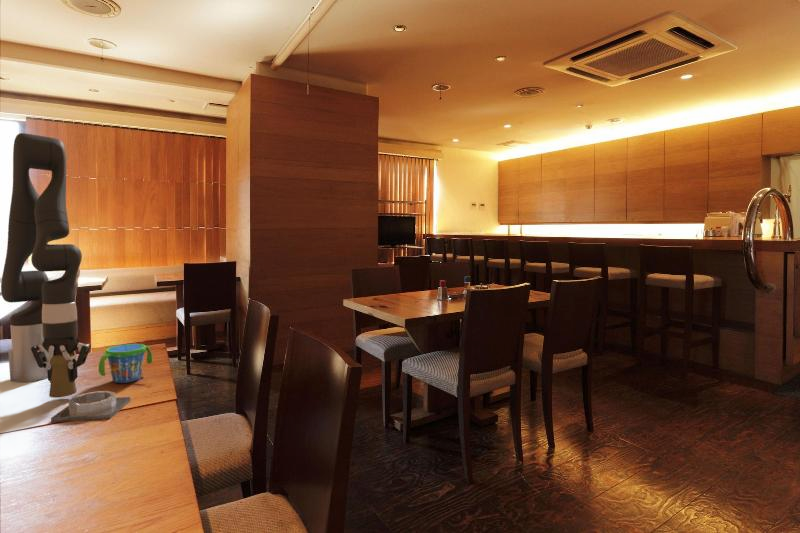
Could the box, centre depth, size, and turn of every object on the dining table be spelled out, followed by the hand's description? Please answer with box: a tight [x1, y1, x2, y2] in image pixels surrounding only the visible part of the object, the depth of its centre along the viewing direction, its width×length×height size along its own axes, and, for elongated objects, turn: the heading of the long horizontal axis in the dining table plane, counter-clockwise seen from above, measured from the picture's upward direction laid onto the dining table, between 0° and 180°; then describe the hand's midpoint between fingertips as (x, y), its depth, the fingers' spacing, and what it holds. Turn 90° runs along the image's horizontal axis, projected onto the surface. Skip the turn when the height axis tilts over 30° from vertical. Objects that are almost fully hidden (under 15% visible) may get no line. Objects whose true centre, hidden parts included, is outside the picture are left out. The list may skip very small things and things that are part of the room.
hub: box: [50, 390, 132, 423], centre depth 117 cm, size 13×12×3 cm
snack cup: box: [98, 343, 153, 384], centre depth 140 cm, size 16×10×10 cm
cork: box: [48, 354, 77, 399], centre depth 123 cm, size 6×6×11 cm
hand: (62, 381), depth 123 cm, fingers closed on cork, 4 cm apart
